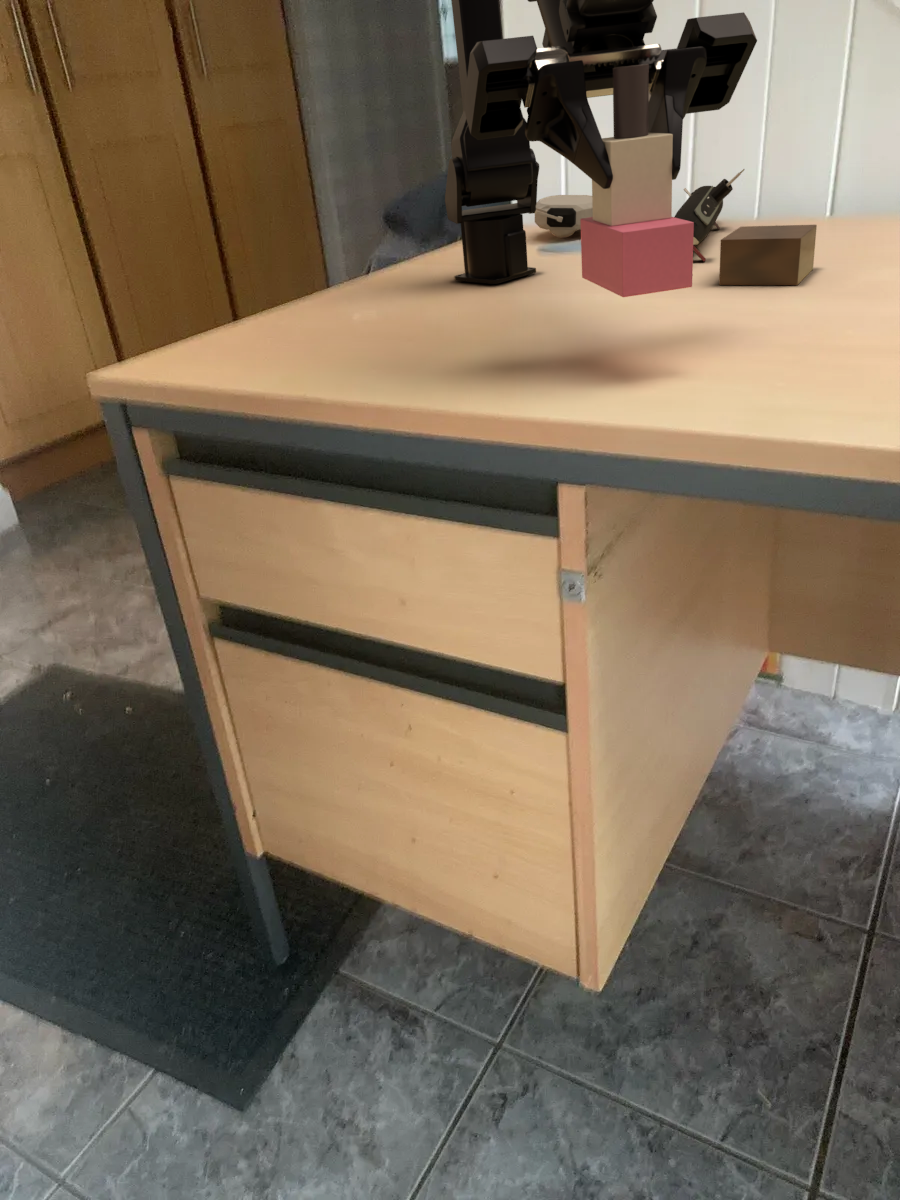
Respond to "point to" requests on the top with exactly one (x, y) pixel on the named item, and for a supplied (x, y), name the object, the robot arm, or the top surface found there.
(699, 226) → the submarine model
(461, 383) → the top surface
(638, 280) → the pink and tan tower
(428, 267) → the top surface
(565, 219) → the robot toy
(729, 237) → the block
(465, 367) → the top surface
